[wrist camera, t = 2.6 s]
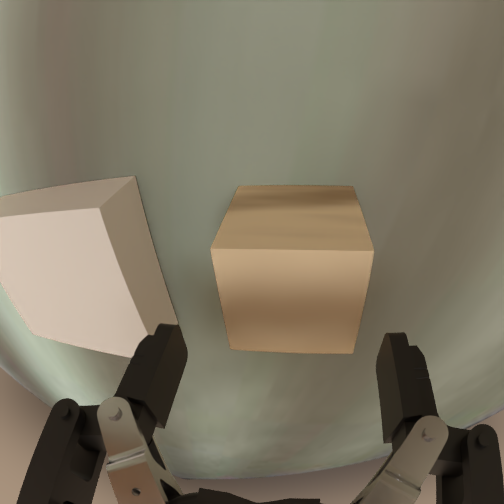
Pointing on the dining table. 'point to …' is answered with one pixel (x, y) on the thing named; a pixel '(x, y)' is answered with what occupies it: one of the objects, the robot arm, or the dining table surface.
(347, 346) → the maple cube
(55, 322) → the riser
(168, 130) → the dining table surface
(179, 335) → the robot arm
